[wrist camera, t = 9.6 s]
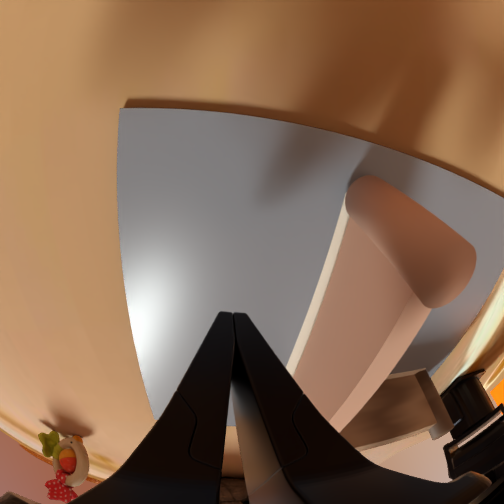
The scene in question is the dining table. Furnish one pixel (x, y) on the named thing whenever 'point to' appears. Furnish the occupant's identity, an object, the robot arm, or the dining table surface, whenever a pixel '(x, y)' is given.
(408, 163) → the card
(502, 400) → the orange juice
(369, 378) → the swing panel
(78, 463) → the bird rattle
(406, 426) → the fixed fence
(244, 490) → the clay pot
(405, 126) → the dining table surface
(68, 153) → the dining table surface
